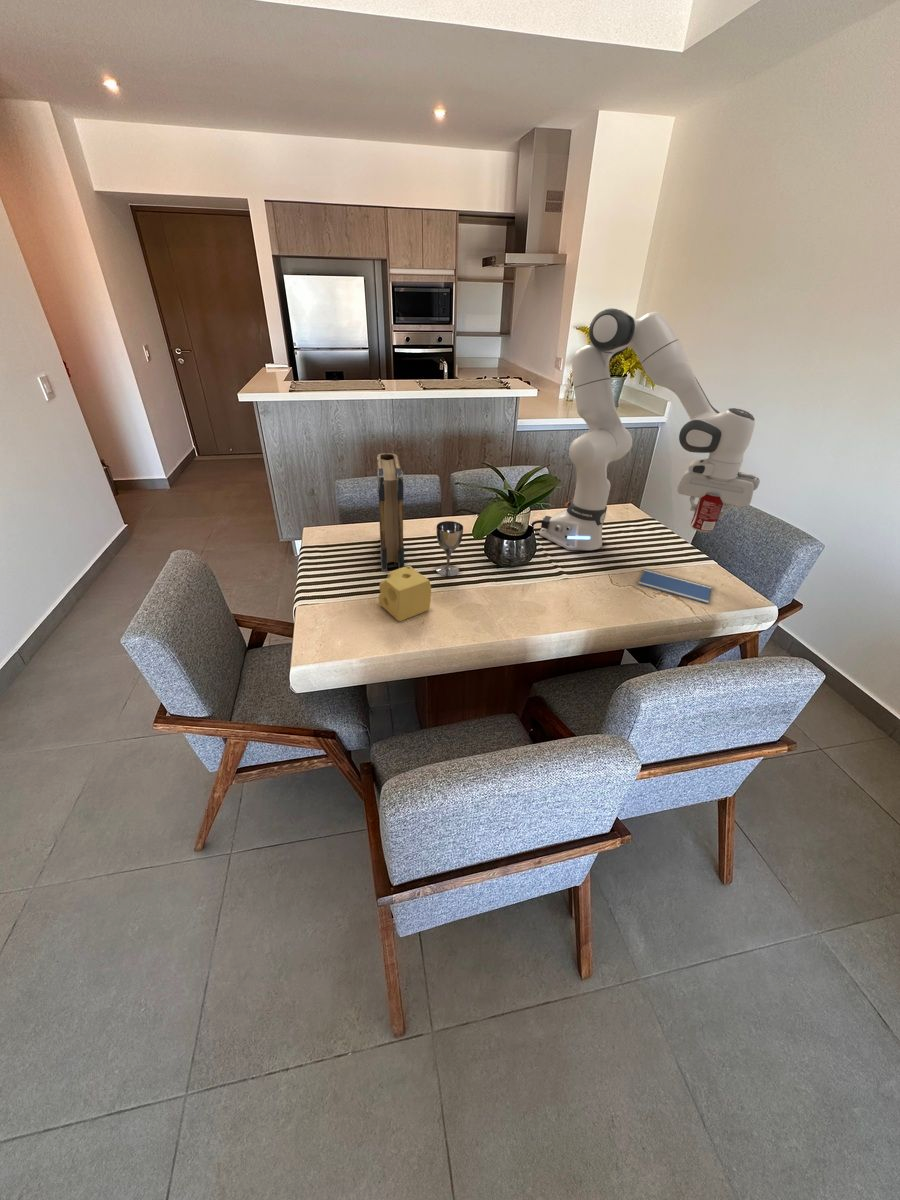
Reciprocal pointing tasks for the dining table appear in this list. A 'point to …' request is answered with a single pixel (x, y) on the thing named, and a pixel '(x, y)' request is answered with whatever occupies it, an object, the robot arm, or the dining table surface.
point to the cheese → (405, 593)
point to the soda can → (707, 513)
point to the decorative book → (390, 509)
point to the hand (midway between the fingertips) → (706, 513)
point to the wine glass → (449, 544)
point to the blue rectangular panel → (675, 586)
